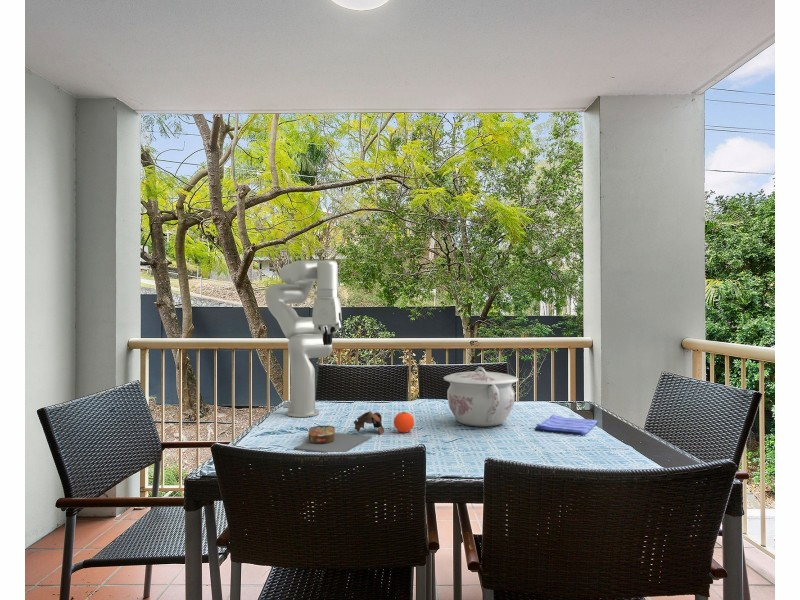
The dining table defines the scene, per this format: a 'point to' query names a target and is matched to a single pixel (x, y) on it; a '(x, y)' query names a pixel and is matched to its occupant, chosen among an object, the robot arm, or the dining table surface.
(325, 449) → the mat
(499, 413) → the chamber pot
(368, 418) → the pottery mug
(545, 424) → the dish towel
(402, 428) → the clementine
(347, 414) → the dining table surface
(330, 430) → the tin
